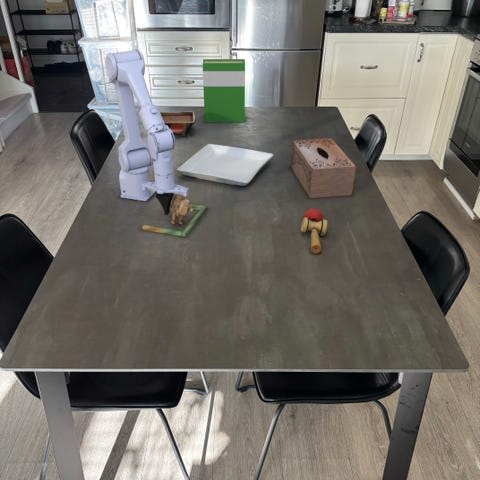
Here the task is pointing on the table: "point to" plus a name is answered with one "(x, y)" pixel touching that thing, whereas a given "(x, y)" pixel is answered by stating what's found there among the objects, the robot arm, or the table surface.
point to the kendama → (314, 227)
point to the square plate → (225, 164)
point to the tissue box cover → (322, 168)
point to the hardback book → (224, 90)
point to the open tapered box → (179, 121)
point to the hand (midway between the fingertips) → (167, 213)
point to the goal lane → (175, 232)
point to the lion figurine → (180, 208)
